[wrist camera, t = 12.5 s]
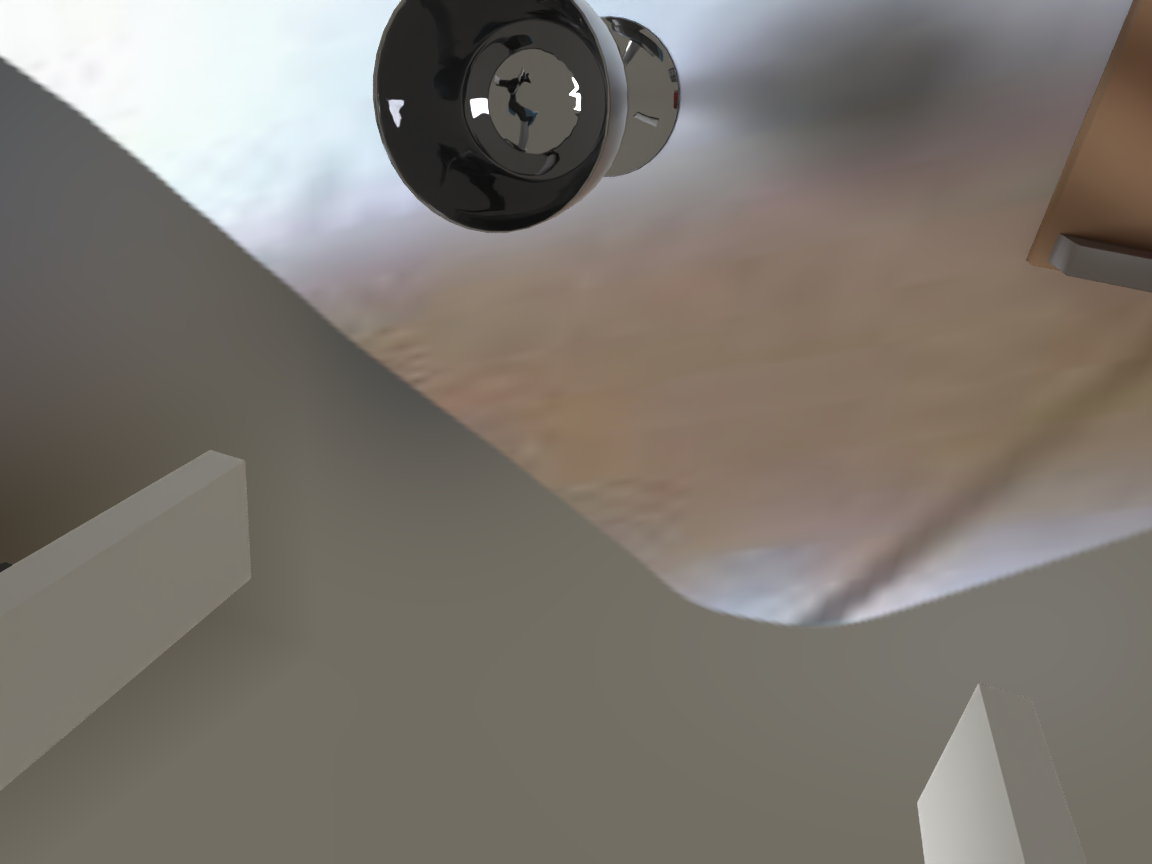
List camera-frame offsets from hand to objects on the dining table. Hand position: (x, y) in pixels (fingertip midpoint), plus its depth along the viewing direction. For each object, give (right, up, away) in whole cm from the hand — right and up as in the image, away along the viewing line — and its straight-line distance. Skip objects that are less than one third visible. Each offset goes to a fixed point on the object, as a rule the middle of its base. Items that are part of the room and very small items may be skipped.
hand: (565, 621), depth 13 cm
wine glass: (+2, +20, +24) cm, 31 cm away
